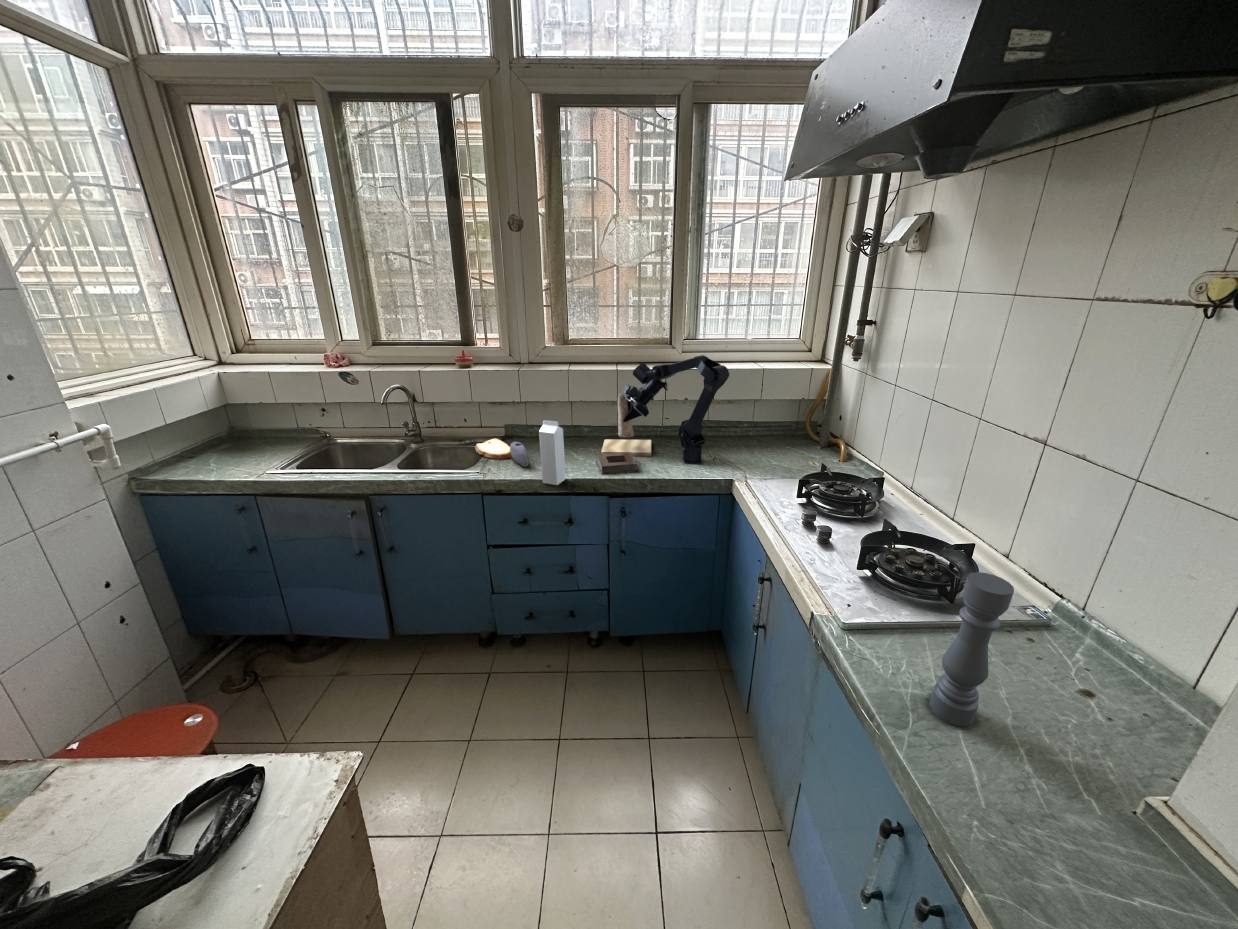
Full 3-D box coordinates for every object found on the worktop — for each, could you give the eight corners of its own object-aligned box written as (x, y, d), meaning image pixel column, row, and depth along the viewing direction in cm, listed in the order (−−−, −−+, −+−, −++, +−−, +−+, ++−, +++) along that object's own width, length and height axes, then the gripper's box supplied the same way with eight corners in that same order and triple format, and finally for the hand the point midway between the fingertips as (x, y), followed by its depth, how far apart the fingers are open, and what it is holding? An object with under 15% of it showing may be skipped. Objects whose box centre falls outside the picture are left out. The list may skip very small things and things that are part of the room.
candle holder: (956, 695, 85) (995, 570, 76) (982, 726, 80) (1027, 595, 71) (921, 696, 85) (955, 571, 76) (944, 727, 79) (984, 596, 70)
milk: (551, 477, 179) (547, 417, 171) (566, 479, 177) (562, 419, 169) (542, 483, 174) (537, 422, 166) (557, 485, 171) (553, 424, 164)
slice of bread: (512, 459, 196) (511, 450, 195) (467, 459, 197) (466, 450, 195) (521, 444, 213) (521, 436, 212) (480, 444, 214) (479, 436, 212)
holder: (630, 459, 195) (630, 452, 194) (636, 471, 183) (637, 463, 182) (597, 461, 193) (597, 454, 192) (602, 474, 181) (601, 466, 180)
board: (651, 443, 213) (651, 439, 213) (651, 455, 198) (651, 452, 198) (604, 442, 214) (604, 439, 214) (601, 455, 199) (601, 451, 199)
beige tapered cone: (619, 435, 205) (618, 440, 199) (611, 393, 198) (610, 397, 193) (634, 433, 204) (634, 438, 198) (626, 391, 197) (626, 394, 192)
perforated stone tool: (533, 468, 187) (532, 451, 184) (520, 470, 185) (518, 453, 182) (522, 456, 199) (521, 439, 197) (509, 458, 197) (508, 441, 195)
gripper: (630, 372, 202) (604, 401, 204) (640, 382, 185) (611, 412, 187) (649, 391, 206) (623, 418, 208) (660, 401, 189) (632, 431, 191)
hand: (622, 419), depth 198 cm, fingers closed on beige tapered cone, 4 cm apart
